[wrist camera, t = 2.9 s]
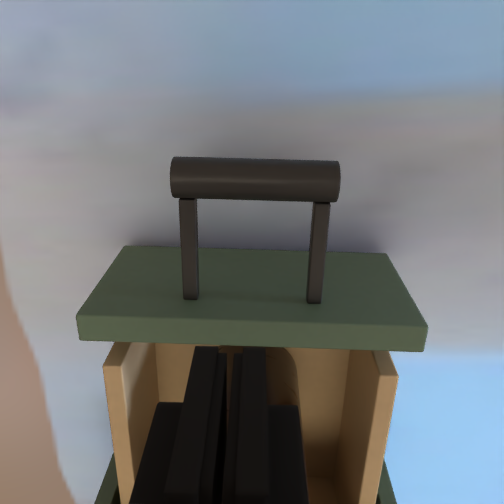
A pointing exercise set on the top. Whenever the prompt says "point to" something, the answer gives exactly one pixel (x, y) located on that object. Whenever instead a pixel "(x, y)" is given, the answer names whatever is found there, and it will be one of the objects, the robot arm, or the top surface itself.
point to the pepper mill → (272, 379)
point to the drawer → (259, 323)
